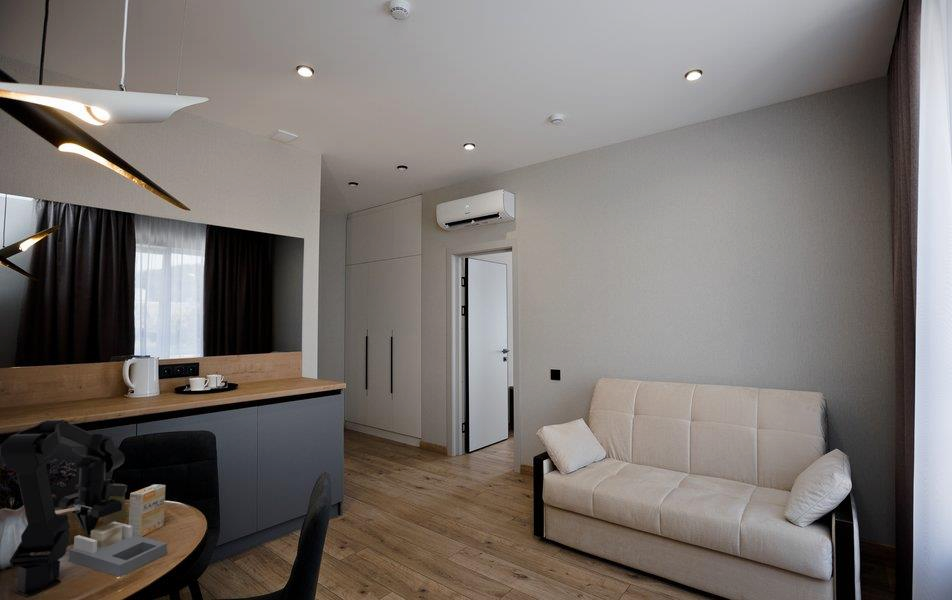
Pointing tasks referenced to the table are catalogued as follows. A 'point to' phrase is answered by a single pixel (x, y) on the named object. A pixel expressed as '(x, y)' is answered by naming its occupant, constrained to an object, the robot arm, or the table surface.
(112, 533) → the birch block
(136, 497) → the supplement box
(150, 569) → the table surface
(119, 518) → the cork
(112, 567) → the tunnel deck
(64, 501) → the robot arm
